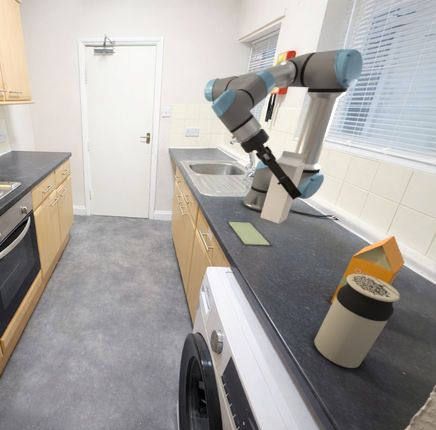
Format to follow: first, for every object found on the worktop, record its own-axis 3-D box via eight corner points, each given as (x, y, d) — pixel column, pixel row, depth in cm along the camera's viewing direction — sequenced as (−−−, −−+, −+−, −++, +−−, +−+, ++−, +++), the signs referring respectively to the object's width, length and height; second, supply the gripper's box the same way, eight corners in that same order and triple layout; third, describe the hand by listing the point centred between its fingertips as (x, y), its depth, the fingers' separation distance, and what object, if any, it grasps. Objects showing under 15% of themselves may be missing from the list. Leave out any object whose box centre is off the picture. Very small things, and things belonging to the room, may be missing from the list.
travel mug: (325, 365, 54) (363, 297, 46) (307, 333, 61) (336, 270, 53) (369, 372, 53) (415, 304, 45) (345, 339, 60) (381, 275, 52)
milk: (278, 224, 85) (301, 155, 75) (259, 217, 89) (278, 151, 79) (286, 219, 88) (309, 153, 78) (268, 213, 92) (287, 149, 83)
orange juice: (378, 307, 69) (417, 242, 61) (366, 321, 65) (406, 252, 56) (342, 290, 75) (373, 228, 67) (329, 301, 71) (360, 237, 62)
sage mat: (249, 223, 113) (249, 222, 113) (270, 245, 97) (270, 244, 96) (228, 222, 113) (228, 221, 113) (245, 244, 97) (245, 243, 97)
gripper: (237, 139, 92) (276, 188, 94) (241, 150, 74) (289, 211, 76) (258, 123, 88) (298, 176, 90) (267, 131, 70) (317, 196, 72)
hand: (293, 192), depth 83 cm, fingers closed on milk, 8 cm apart
